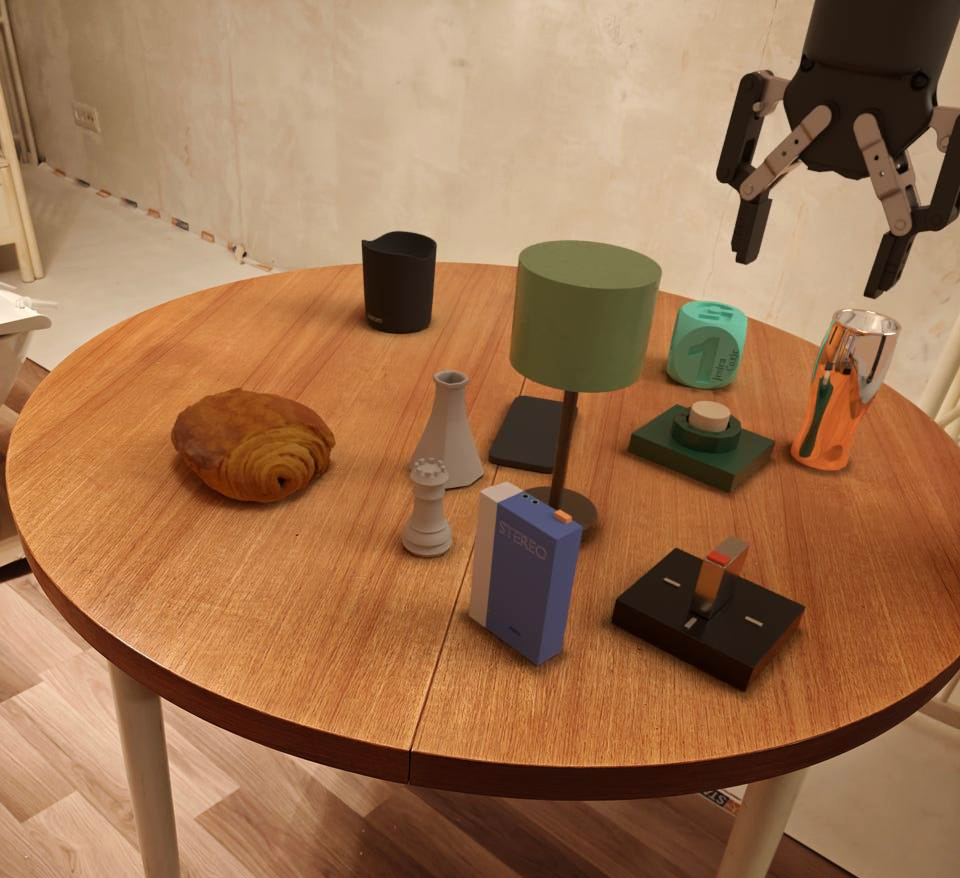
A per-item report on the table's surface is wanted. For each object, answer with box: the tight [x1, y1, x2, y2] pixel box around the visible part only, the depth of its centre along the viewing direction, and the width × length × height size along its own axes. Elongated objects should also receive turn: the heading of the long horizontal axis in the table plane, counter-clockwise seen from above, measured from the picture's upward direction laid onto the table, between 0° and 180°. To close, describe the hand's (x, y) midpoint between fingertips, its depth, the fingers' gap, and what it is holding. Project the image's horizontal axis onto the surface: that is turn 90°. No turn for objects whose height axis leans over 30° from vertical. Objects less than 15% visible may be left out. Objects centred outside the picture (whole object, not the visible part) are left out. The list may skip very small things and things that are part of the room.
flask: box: [407, 369, 485, 490], centre depth 85 cm, size 7×7×10 cm
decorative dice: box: [666, 300, 748, 390], centre depth 108 cm, size 8×8×8 cm
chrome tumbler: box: [789, 308, 902, 472], centre depth 91 cm, size 7×7×15 cm
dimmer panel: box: [610, 547, 807, 693], centre depth 72 cm, size 12×10×3 cm
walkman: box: [468, 480, 583, 667], centre depth 66 cm, size 8×3×12 cm, turn 43°
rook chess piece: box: [401, 458, 453, 558], centre depth 76 cm, size 4×4×8 cm
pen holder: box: [360, 230, 438, 334], centre depth 114 cm, size 9×9×10 cm
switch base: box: [627, 403, 777, 494], centre depth 93 cm, size 12×10×4 cm
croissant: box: [170, 387, 337, 504], centre depth 84 cm, size 14×16×8 cm
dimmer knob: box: [689, 534, 751, 619], centre depth 69 cm, size 4×2×5 cm, turn 141°
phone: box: [488, 395, 579, 474], centre depth 95 cm, size 7×1×15 cm
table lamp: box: [508, 239, 663, 544], centre depth 75 cm, size 11×11×24 cm
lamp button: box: [688, 400, 731, 432], centre depth 92 cm, size 4×4×2 cm
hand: (807, 277), depth 56 cm, fingers open, 8 cm apart
